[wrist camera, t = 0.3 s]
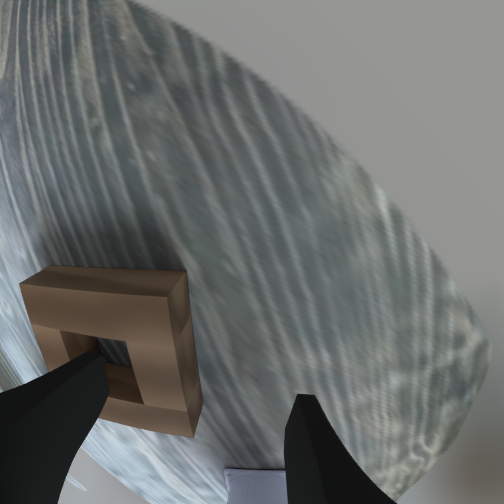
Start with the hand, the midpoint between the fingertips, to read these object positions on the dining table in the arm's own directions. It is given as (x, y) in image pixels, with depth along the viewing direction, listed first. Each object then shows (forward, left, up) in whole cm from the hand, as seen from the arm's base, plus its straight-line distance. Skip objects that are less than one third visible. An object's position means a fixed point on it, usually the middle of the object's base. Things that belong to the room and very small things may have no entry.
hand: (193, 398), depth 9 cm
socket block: (-5, +9, -10) cm, 14 cm away
